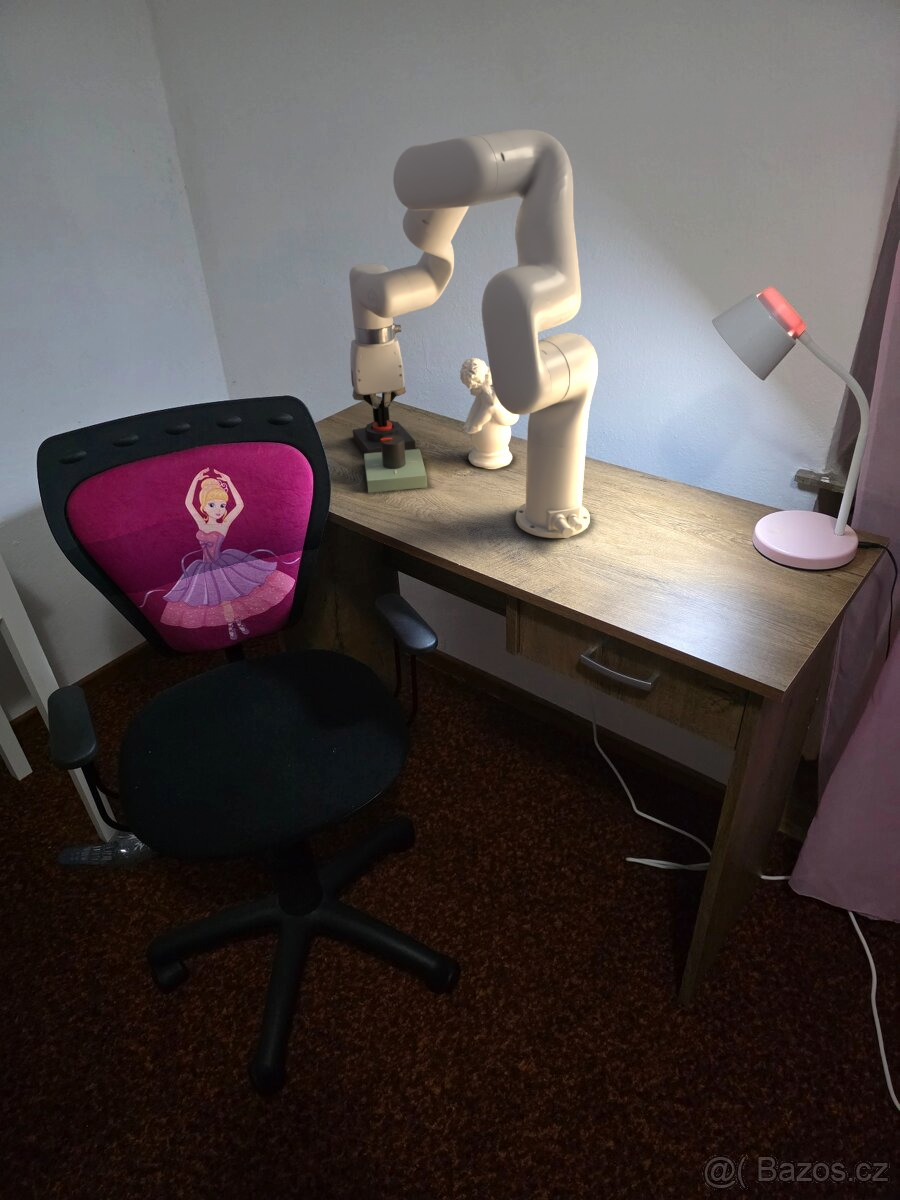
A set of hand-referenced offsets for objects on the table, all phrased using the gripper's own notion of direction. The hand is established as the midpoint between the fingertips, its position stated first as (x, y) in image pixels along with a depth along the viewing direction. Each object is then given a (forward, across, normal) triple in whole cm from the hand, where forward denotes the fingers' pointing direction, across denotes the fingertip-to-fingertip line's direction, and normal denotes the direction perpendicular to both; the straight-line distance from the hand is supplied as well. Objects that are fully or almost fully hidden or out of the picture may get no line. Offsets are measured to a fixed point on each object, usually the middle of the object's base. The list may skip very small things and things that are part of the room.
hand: (381, 423), depth 164 cm
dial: (+2, +1, +15) cm, 15 cm away
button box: (+5, 0, 0) cm, 5 cm away
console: (+4, +1, +15) cm, 16 cm away
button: (+2, 0, 0) cm, 2 cm away
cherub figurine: (+5, -20, +13) cm, 24 cm away
